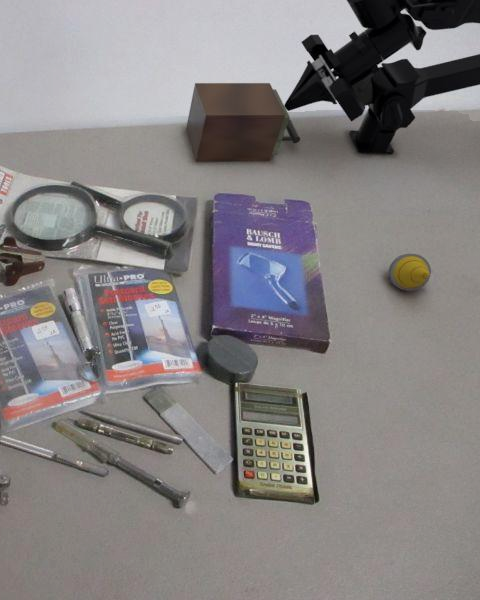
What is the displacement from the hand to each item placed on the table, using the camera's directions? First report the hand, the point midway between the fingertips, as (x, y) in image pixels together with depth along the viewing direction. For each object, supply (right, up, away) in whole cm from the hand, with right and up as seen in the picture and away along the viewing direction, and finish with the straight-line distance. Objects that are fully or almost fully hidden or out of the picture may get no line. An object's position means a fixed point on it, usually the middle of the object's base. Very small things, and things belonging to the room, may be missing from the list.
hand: (285, 108), depth 103 cm
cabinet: (-9, -5, +5) cm, 12 cm away
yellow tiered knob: (+12, -32, -16) cm, 37 cm away
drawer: (-5, -4, +5) cm, 8 cm away
